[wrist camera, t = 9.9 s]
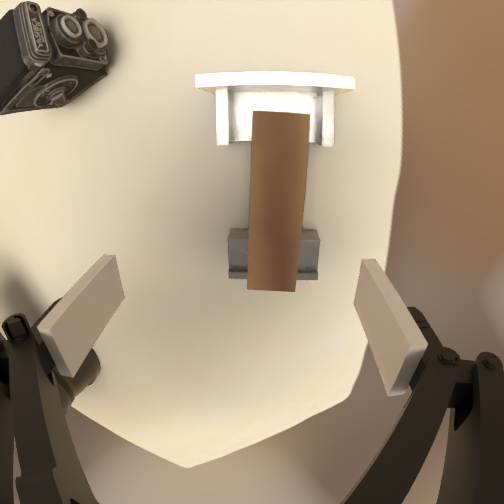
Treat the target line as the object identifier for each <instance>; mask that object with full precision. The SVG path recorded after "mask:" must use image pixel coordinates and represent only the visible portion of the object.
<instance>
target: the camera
mask: <svg viewBox="0 0 504 504" xmlns="http://www.w3.org/2000/svg"><path fill="white" fill-rule="evenodd" d="M107 42H108V39H107V35H106V33H105V31H104V29H103V27H102V26H101V25H100V24H99V23H98V22H97V21H96V20H94V19H91V18H87V15H86V13H85V12H84V11H83V10H82V9H80V8H79V9H77V10H76V12H74V13H72V14H69V13H66V12H63V11H60V10H57V9H54V8H51V7H48V8H47V9H46V10H45V11H43V12H42V13H41V9H40V6H39V5H38V4H37V3H34V2H30V1H26V2H23V3H20V4H19V5H18V6H17V7H16V8H15V9H14V10H13V9H12V10H9V11H8V12H7V13H6V14H5V15H4V16H3V18H2V19H1V20H0V115H5V114H11V113H17V112H24V111H31V110H40V109H49V108H59V107H62V106H64V105H66V104H67V103H69V102H70V101H71V100H72V99H74V98H75V97H76V96H78V95H79V94H80V93H81V92H83V91H84V90H85V89H87V88H88V87H90V86H91V85H92V84H94V83H95V82H96V81H98V80H99V79H101V78H102V77H104V76H105V75H107V73H106V70H105V68H104V66H105V65H106V64H107V63H108V61H107V57H106V53H105V52H106V51H107Z"/></svg>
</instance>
